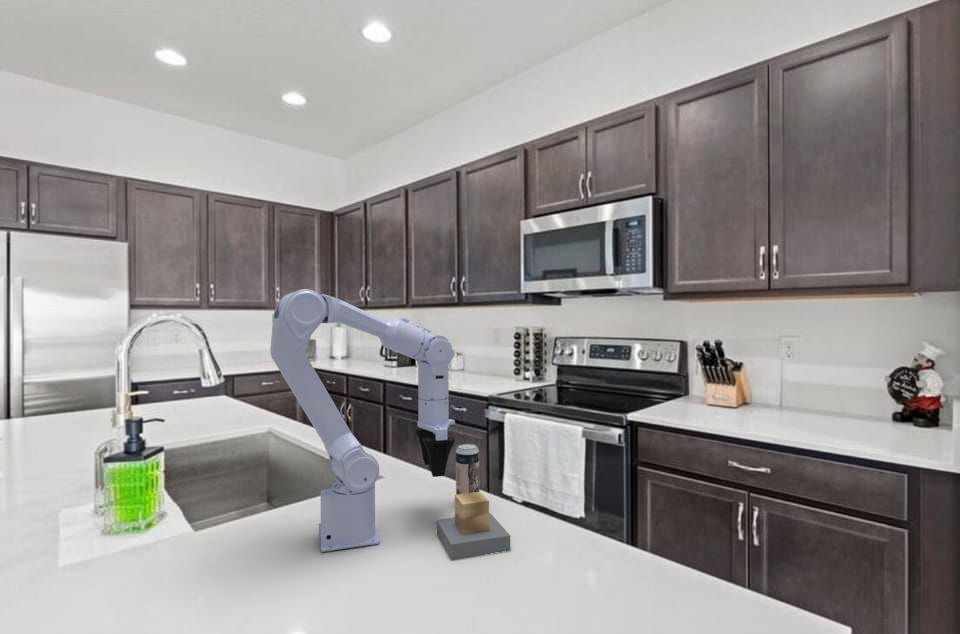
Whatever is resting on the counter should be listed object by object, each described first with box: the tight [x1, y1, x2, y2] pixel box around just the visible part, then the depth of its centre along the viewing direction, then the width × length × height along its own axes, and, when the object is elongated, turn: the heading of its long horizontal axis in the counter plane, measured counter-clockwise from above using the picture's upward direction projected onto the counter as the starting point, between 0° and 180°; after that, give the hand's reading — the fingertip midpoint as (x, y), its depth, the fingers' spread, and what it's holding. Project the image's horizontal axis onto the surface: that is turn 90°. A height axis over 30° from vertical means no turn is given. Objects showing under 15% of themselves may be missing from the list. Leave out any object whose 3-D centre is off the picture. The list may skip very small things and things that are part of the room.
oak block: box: [454, 491, 490, 535], centre depth 83 cm, size 5×5×5 cm
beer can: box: [455, 443, 480, 495], centre depth 100 cm, size 5×5×12 cm
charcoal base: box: [436, 512, 511, 561], centre depth 83 cm, size 10×10×3 cm
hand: (433, 469), depth 93 cm, fingers open, 7 cm apart
